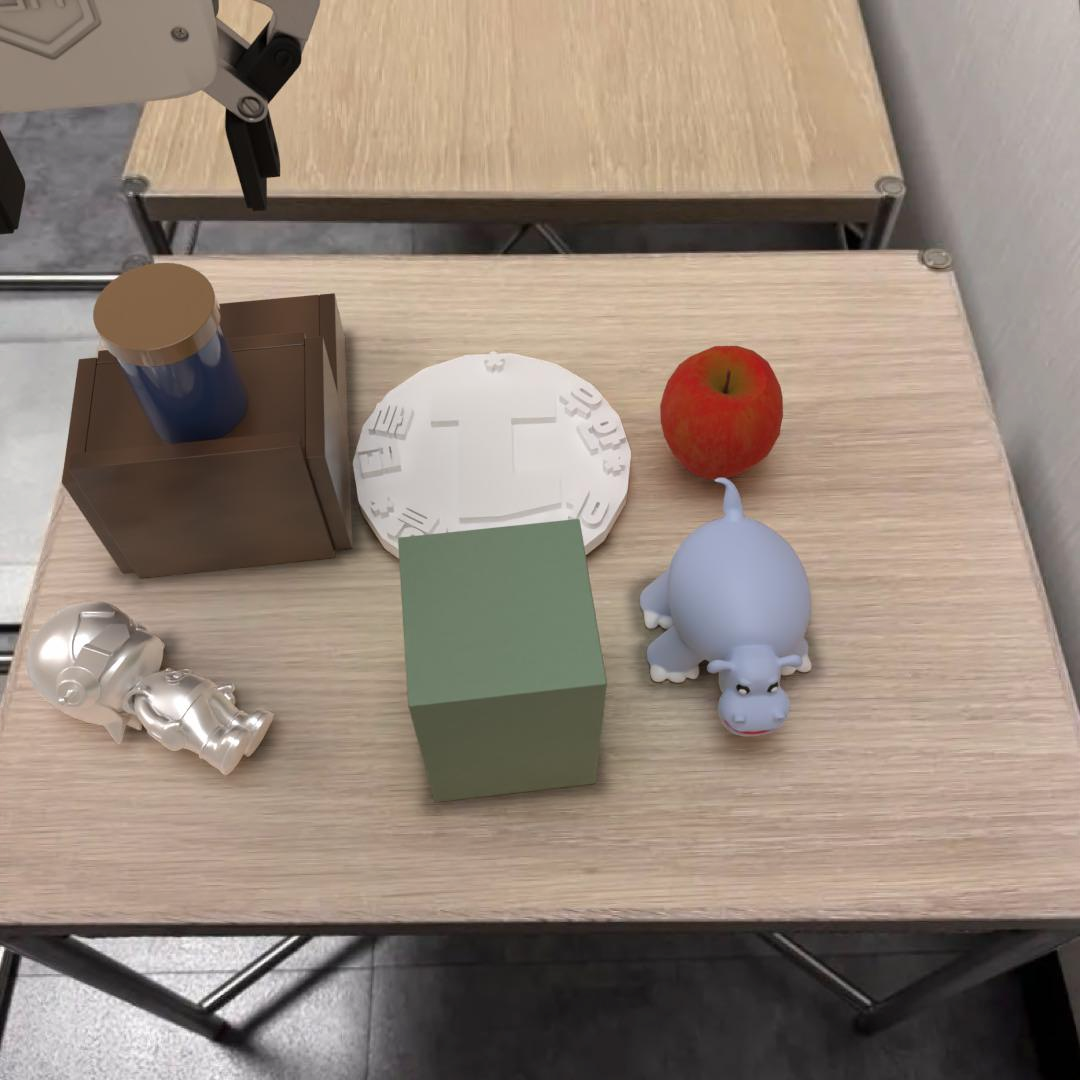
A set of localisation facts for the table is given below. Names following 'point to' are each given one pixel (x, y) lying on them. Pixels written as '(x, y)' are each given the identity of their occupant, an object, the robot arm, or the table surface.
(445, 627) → the stand
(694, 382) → the apple
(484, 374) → the white round plaque
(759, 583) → the hippopotamus toy
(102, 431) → the wooden storage crate
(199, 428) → the jar
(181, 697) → the figurine
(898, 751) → the table surface
